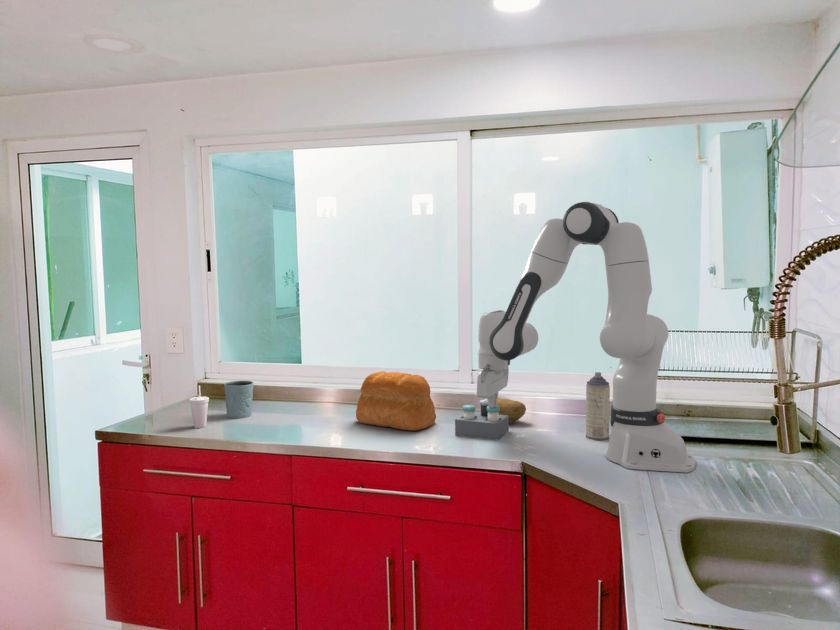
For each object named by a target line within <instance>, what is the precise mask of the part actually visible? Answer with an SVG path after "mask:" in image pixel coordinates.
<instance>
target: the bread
mask: <svg viewBox="0 0 840 630" xmlns="http://www.w3.org/2000/svg"><path fill="white" fill-rule="evenodd" d="M360 393H361V394H360V396H359V398H358V401H357V405H356V410H355V418H356V420H357V421H358V422H360V423H361V424H366V425H367V424H368V425H373V426H377V427H385V428H392V429H395V430H402V431H403V430H404V431H410V432H413V431H420V430H424V429H427V428H428V427H430V426H433V425H434V424H435V422H436V420H437V414H436V409H435V404H434V401H433V400H432V398H431V387H430V384H429V382H428V381H427V379H426V378H425V376H422V375H419V374H411V373H406V372H398V371H393V372H392V371H391V372H386V371H385V370H384V371H382V370H381V371H378V372H373V373H371V374H369V375H367V377H365V379H364V381H363V382H362V385H361V386H360Z"/></svg>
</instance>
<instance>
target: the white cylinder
mask: <svg viewBox="0 0 840 630" xmlns="http://www.w3.org/2000/svg"><path fill="white" fill-rule="evenodd" d="M462 411H463V414H464V418H465V419H474V412H476V405H473V404H464V405H462Z"/></svg>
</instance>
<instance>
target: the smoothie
mask: <svg viewBox="0 0 840 630" xmlns="http://www.w3.org/2000/svg"><path fill="white" fill-rule="evenodd" d="M201 395H202V393H201V385H198V396H193V397H191V398H189V400H188V403H189V404H190V405H189V406H190V410H191V415H192V421H193V426H194V428H195V429H203V428H205V427H207V420H208V411H209V407H208V406H209V402H210V398H209V397H208V396H201Z"/></svg>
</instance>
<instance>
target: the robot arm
mask: <svg viewBox="0 0 840 630" xmlns="http://www.w3.org/2000/svg"><path fill="white" fill-rule="evenodd" d="M645 239H646V238H645V236H644V233H643V230H642V228H641V227H640V226H639V225H637V224H636V223H633V222H629V221H627V222H626V221H625V222H624V221H623V222H619V218H618V216H617V215H616V213H615V212H614V211H613V210H612V209H610V208H607V207H604V206H603V205H602V204H599V203H595V202H589V201H582V202H581V201H580V202H576V203H574V204H573V205H571V206H569V208H568V209H566V211H565V213H564V215H563V218H557V217H555V218H551V219H548V220H547V221H546V222H545V223H544V224H543V226H542V228H541V229H540V231H539V233H538V235H537V236H536V238H535V242H534V244H533V246H532V248H531V252H530V254H529V257H528V260H527V262H526V264H525V268H524V271H523V273H522V276H521V277H520V279H519V281H518V282H519V283H518V285H517V286H516V289H515V291H514V293H513V295H512V298H511V300H510V301H509V304H508V307H507V309H506V311H505V310H501V309H499V310H494V311H493V310H492V311H488V312H484V313H483V314H481V316H480V317H479V323H478V342H479V349H478V369H480V370H481V371H480V372H479V373H478V374H477V381H476V395H477V398H479V399H488V406H489V407H490V408H493V407H495V406H496V405H497V398H499V392H500V391H502V390H503V389H504V388H506V387H507V386H508V382H509V374H510V372H509V366H510V365H511V361H512V360H515V359H516V358H518V357H520V356H522V355H524V354H527V353H530V352H531V351H533V350H534V349H535V348H536V347H537V345H538V342H539V334H538V331H537V329H536V328H535V326H533V325H532V324H530V323H528V322H527V321H528V319H529V316H530V314H531V312H532V310H533V308H534V306H535V303H537V300H538V299H539V298H540V297H542V296H543V295H544V293H547V292H548V291H549V290H550V289H552V288H554V287H555V286H556V285H558V284H559V282H560V281H561V279H562V277H564V275H565V273H566V270H567V267H568V265H569V262H570V259H571V256H572V254H573V252H574V250H575V249H576V247H577V246H579V245H581V244H582V245H592V246H600V248H601V249H602V251H603V256H604V265H605V274H606V284H607V293H608V294H607V309H606V315H605V321H604V325H603V327H602V329H601V331H600V334H599V342H600V346H601V348H602V351H604V352H605V353H606V354H607V355H608V356H610V357H612V358H615V359H619V362H618V366H617V369H616V371H615V373H614V374H613V378H612V404H611V407H610V409H609V424H610V426H611V427H610V434H609V443H608V446H607V449H606V452H605V457H606V459H607V460H609V461H610V462H613V463H615V464H619V465H621V466H622V467H623V468H625V469H628V470H642V471H658V472H672V473H690V472H693V471H694V470H695V468H696V466H697V464H696V459H695V457H693V455H691V454H689V453H687V451H688V450H687V446H686V443H685V441H684V439H683V438H682V436H681V435H680V434H678V433H677V432H676V431H674V430H673V429H672V428H671V427H669V426H668V425H667V424H666V423H665V421H666V416H665V413H664V410H663V409H659V408H657V383H658V381H657V380H658V375H659V370H660V366H661V360H662V356H663V351H664V347H665V345H666V343H667V341H668V338H669V334H670V333H669V328H668V325H667V324H666V322H665V321H664V320H663V319H661V318H660V317H658V316H655V315H652V314H649V313H648V307H649V301H650V297H651V294H652V291H653V285H652V276H651V267H650V259H649V253H648V248H647V243H646V240H645Z"/></svg>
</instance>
